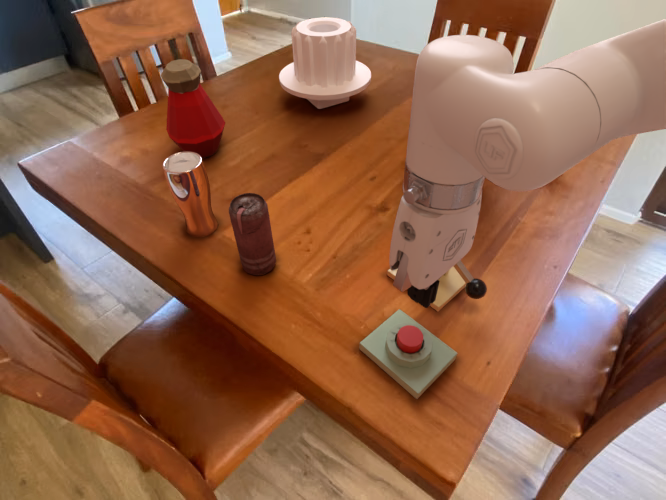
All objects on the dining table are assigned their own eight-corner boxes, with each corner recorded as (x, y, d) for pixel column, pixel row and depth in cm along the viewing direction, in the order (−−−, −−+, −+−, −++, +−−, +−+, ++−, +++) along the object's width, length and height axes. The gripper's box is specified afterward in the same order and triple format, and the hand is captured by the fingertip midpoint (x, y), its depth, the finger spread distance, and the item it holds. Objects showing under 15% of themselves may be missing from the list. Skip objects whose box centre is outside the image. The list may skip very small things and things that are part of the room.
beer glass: (199, 211, 88) (179, 147, 77) (227, 221, 86) (211, 156, 75) (176, 232, 83) (152, 167, 73) (205, 243, 81) (184, 177, 71)
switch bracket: (470, 282, 73) (486, 231, 65) (437, 312, 69) (451, 261, 61) (419, 249, 79) (428, 198, 71) (386, 275, 75) (392, 224, 67)
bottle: (231, 162, 100) (213, 77, 86) (171, 170, 98) (142, 84, 84) (228, 128, 111) (212, 48, 97) (175, 134, 109) (150, 54, 95)
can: (237, 275, 75) (221, 214, 65) (248, 250, 80) (234, 189, 70) (270, 279, 75) (259, 218, 65) (280, 253, 79) (271, 192, 69)
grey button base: (455, 359, 63) (460, 346, 61) (416, 399, 59) (419, 387, 56) (398, 315, 69) (400, 301, 66) (359, 349, 65) (359, 335, 62)
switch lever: (481, 293, 69) (495, 289, 66) (469, 305, 67) (483, 300, 64) (432, 228, 69) (443, 220, 66) (419, 237, 68) (431, 230, 65)
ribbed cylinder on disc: (306, 129, 110) (301, 53, 97) (267, 91, 126) (258, 21, 112) (387, 105, 118) (393, 31, 105) (341, 72, 134) (341, 5, 120)
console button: (426, 342, 62) (428, 336, 60) (410, 358, 60) (412, 351, 59) (407, 327, 64) (408, 320, 62) (391, 342, 62) (392, 335, 61)
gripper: (425, 233, 36) (405, 353, 49) (519, 162, 43) (479, 283, 56) (361, 195, 40) (358, 314, 53) (456, 135, 47) (433, 254, 60)
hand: (420, 298), depth 54 cm, fingers closed
